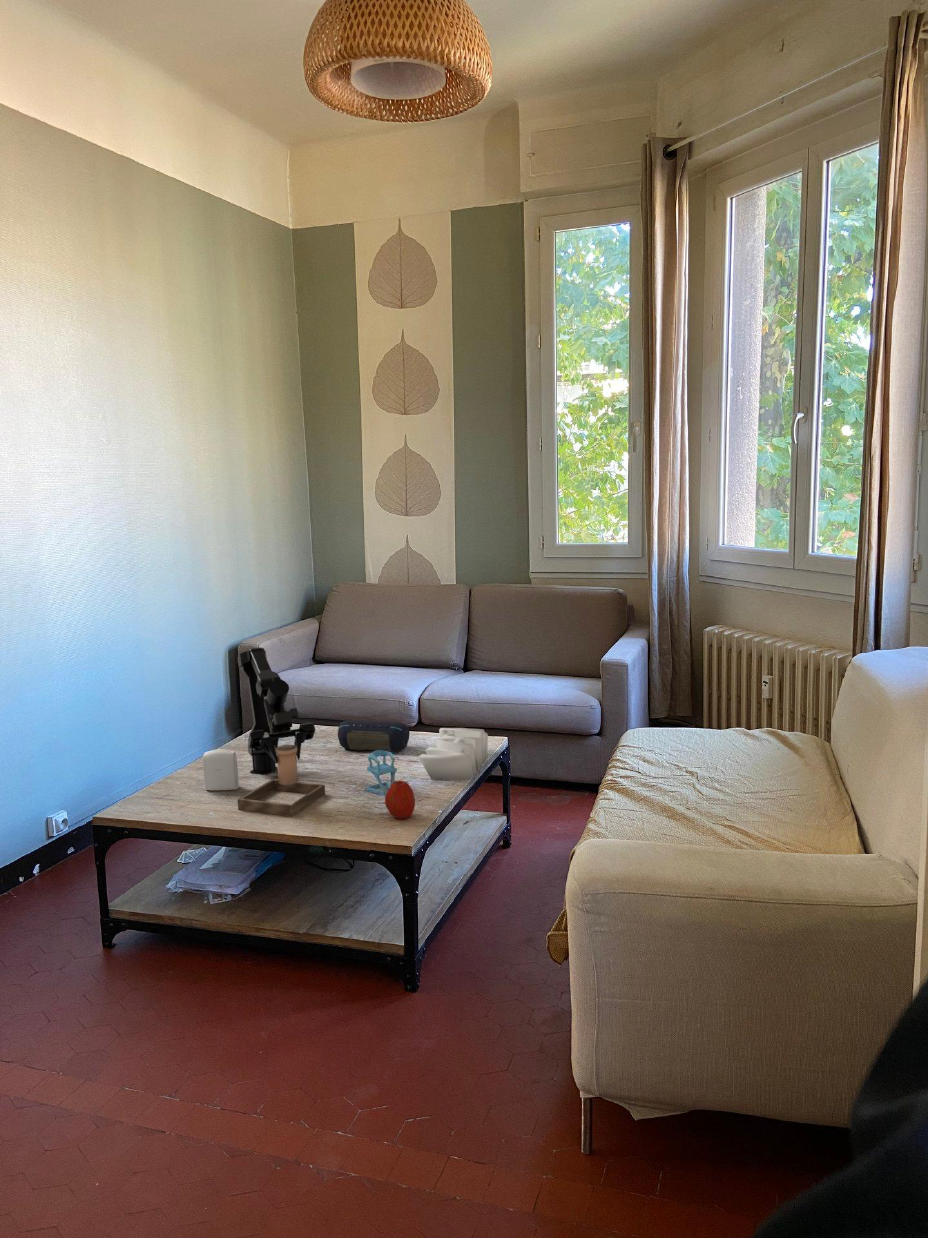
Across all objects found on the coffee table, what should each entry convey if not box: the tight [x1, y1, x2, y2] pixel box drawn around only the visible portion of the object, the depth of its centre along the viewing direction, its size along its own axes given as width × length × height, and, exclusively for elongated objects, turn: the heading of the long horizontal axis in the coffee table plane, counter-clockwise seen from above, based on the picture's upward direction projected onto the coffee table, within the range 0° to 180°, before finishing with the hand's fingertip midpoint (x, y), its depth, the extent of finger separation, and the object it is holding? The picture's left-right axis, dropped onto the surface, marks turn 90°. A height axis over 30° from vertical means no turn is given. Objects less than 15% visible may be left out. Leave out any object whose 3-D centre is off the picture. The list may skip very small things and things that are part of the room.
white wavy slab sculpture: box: [418, 727, 489, 782], centre depth 285 cm, size 35×16×10 cm, turn 162°
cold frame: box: [237, 778, 326, 817], centre depth 259 cm, size 18×18×3 cm
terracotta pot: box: [275, 744, 299, 785], centre depth 256 cm, size 6×6×10 cm
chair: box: [364, 750, 398, 797], centre depth 266 cm, size 8×8×12 cm
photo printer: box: [202, 748, 240, 791], centre depth 271 cm, size 10×4×12 cm, turn 90°
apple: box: [384, 780, 416, 820], centre depth 245 cm, size 8×8×11 cm
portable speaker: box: [337, 719, 410, 752], centre depth 306 cm, size 25×10×10 cm, turn 77°
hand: (288, 761), depth 254 cm, fingers closed on terracotta pot, 6 cm apart
